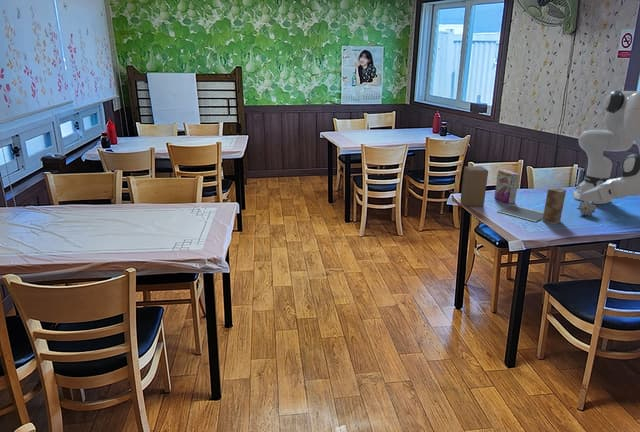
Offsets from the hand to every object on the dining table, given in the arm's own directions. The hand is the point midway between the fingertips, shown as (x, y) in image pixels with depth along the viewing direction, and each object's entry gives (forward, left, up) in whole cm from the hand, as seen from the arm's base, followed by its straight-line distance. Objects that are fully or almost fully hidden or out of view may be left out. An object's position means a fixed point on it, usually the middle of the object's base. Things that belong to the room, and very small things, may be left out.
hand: (582, 193), depth 210 cm
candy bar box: (-34, -28, -16) cm, 47 cm away
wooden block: (-23, -46, -16) cm, 54 cm away
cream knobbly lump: (-19, +9, -16) cm, 27 cm away
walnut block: (-5, -10, -16) cm, 20 cm away
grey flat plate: (-13, -21, -16) cm, 30 cm away
